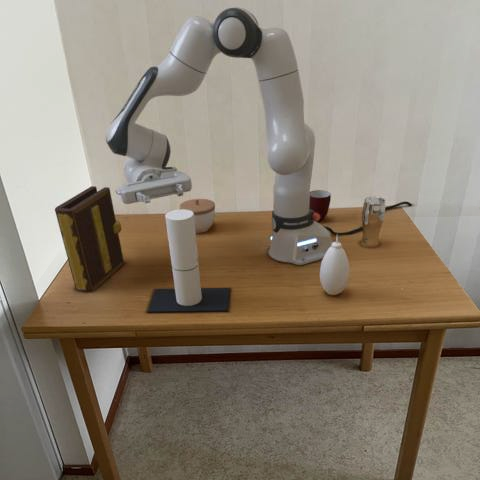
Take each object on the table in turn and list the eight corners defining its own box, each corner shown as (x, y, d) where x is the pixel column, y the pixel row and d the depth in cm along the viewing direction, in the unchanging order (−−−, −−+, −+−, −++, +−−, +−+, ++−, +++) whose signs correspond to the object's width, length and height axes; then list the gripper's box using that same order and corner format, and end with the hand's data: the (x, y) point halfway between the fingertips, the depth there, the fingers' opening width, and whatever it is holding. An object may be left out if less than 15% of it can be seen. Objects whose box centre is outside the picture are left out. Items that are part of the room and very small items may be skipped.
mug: (300, 224, 178) (301, 198, 173) (300, 216, 185) (300, 190, 179) (330, 224, 177) (331, 197, 172) (328, 215, 184) (329, 189, 178)
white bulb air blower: (314, 289, 140) (317, 230, 130) (339, 284, 142) (344, 226, 132) (325, 302, 134) (329, 242, 124) (351, 297, 135) (358, 237, 125)
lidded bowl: (203, 238, 172) (200, 208, 165) (175, 231, 177) (171, 202, 171) (223, 225, 180) (221, 196, 174) (195, 219, 186) (193, 191, 180)
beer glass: (357, 246, 161) (361, 203, 153) (361, 238, 167) (365, 195, 158) (378, 249, 159) (384, 205, 151) (382, 240, 164) (387, 197, 156)
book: (94, 293, 143) (75, 212, 129) (70, 289, 146) (48, 209, 132) (131, 259, 160) (117, 184, 146) (108, 256, 163) (93, 182, 149)
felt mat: (230, 289, 142) (230, 287, 142) (227, 311, 132) (227, 310, 132) (155, 290, 143) (154, 288, 143) (147, 312, 133) (147, 311, 133)
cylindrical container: (203, 292, 140) (195, 209, 126) (199, 306, 134) (190, 220, 120) (179, 292, 141) (168, 209, 127) (174, 305, 135) (162, 220, 121)
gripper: (111, 178, 137) (124, 192, 127) (180, 165, 144) (197, 178, 134) (116, 200, 141) (128, 215, 130) (182, 186, 148) (200, 200, 137)
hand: (164, 196), depth 132 cm, fingers open, 8 cm apart
